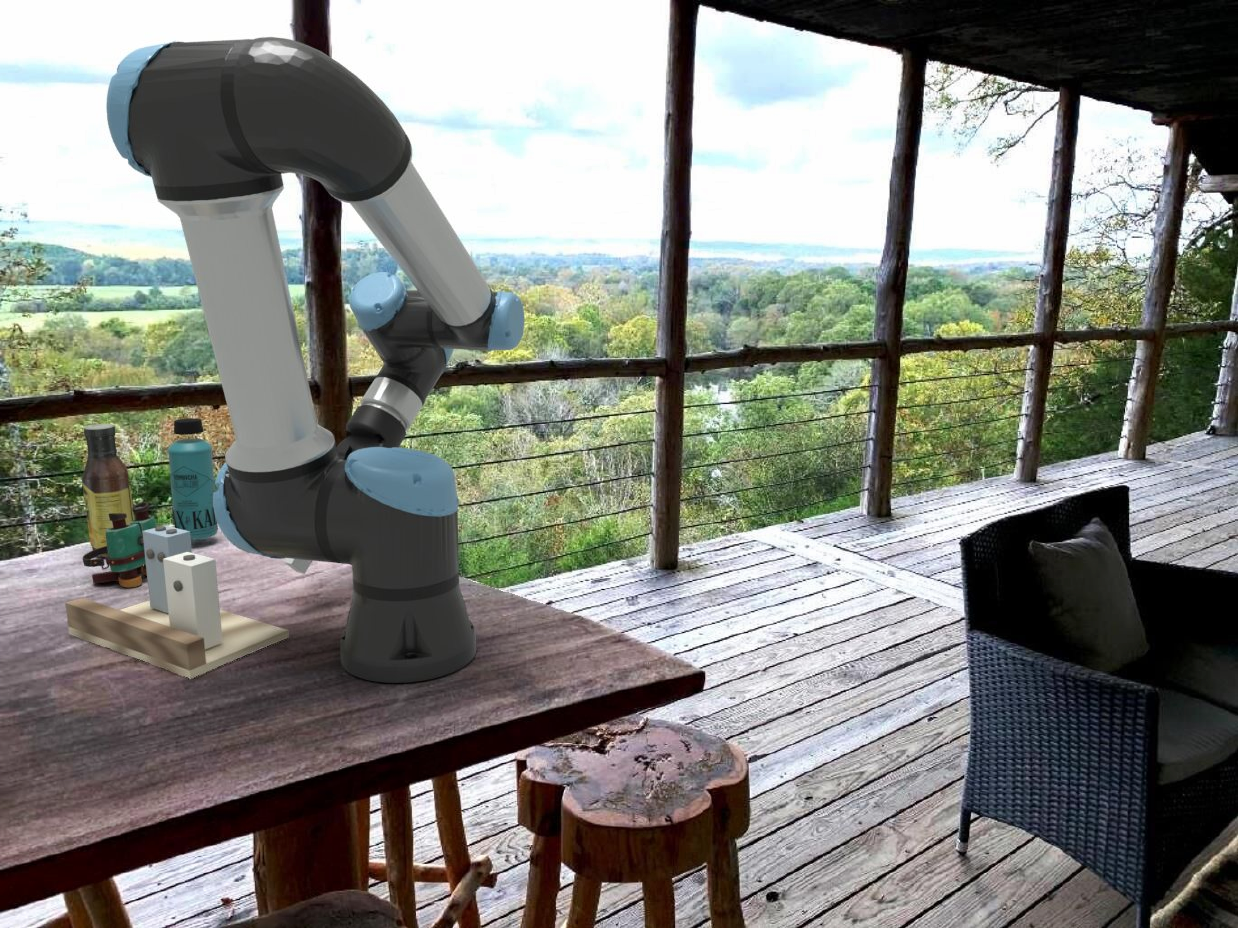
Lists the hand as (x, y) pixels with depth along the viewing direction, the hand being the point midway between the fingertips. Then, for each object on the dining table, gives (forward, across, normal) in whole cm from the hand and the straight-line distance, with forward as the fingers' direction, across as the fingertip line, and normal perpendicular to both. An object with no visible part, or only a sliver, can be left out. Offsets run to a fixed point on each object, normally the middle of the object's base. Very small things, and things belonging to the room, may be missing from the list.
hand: (294, 567), depth 115 cm
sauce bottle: (+3, +43, -6) cm, 44 cm away
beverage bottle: (-4, +37, -13) cm, 39 cm away
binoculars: (+7, +31, -2) cm, 32 cm away
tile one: (+14, 0, +7) cm, 15 cm away
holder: (+13, +6, +5) cm, 15 cm away
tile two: (+10, +12, +3) cm, 16 cm away
